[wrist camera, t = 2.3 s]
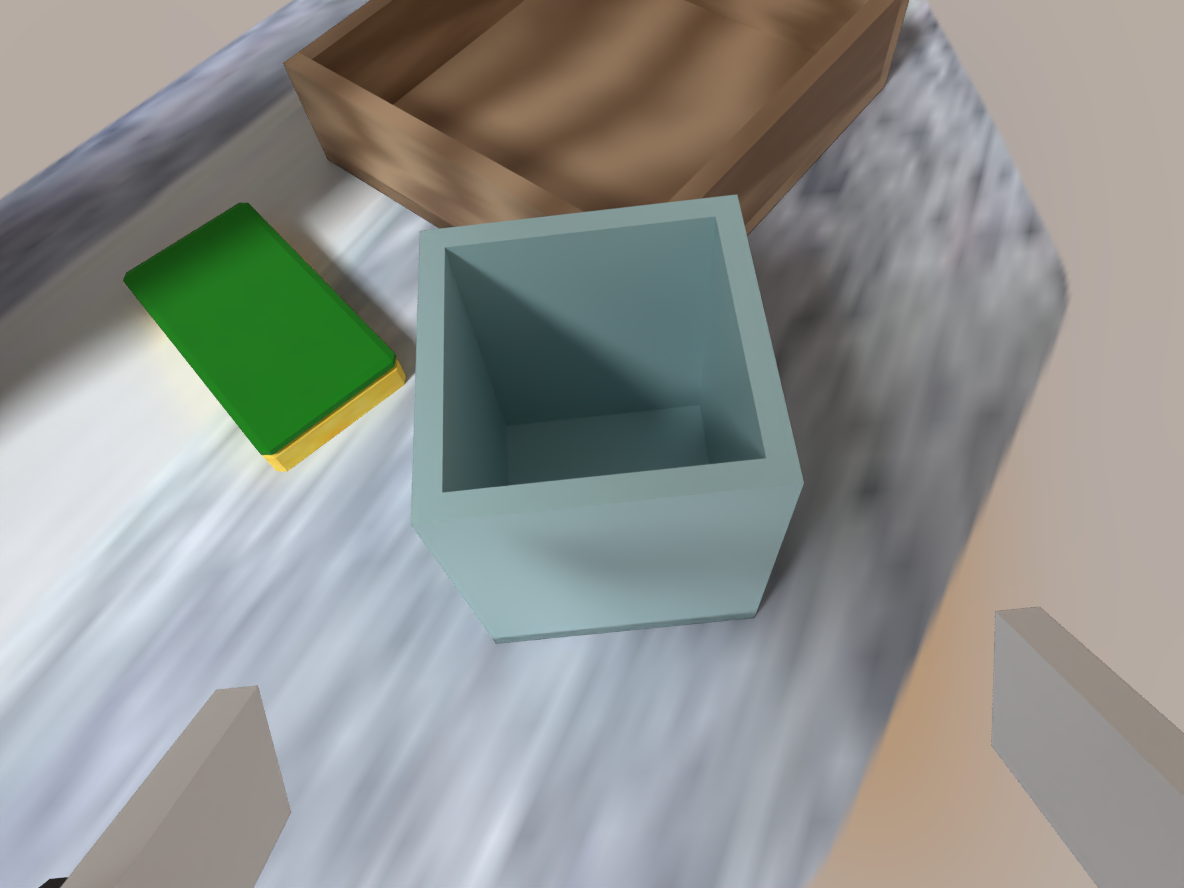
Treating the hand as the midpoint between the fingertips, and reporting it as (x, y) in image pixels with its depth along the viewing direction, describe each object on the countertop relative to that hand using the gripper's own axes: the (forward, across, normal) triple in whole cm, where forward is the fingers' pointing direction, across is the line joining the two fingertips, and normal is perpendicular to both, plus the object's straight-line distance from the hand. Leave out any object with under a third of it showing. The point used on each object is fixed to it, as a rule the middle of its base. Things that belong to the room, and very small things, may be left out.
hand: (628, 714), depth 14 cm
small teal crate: (+19, 0, -3) cm, 19 cm away
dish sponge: (+27, -16, +4) cm, 31 cm away
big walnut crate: (+35, +2, +13) cm, 38 cm away
